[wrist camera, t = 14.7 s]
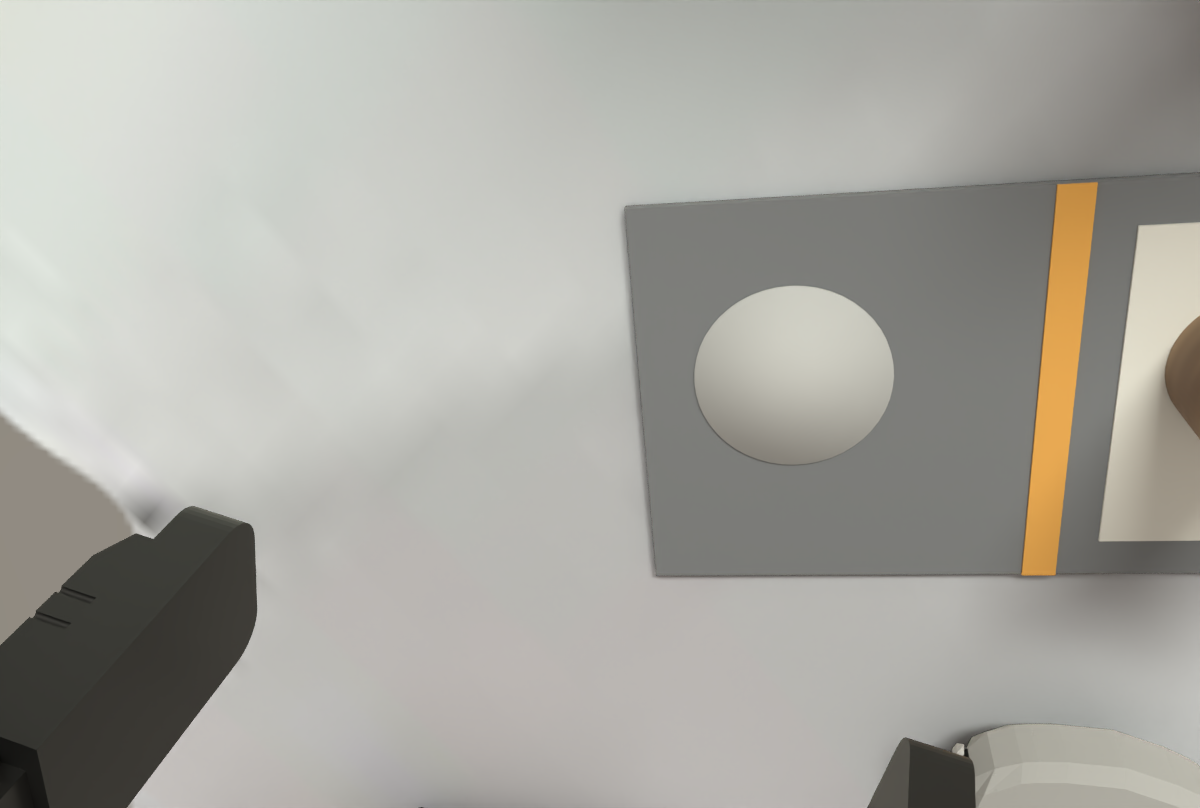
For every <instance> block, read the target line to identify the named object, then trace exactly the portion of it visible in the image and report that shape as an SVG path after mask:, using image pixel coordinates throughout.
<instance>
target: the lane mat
mask: <svg viewBox="0 0 1200 808" xmlns="http://www.w3.org/2000/svg"><path fill="white" fill-rule="evenodd" d="M625 220H626V232H627V243H628V255H629V266H630V278H631V290H632V301H633V313H634V324H635V336H636V347H637V359H638V371H639V382H640V394H641V405H642V417H643V428H644V440H645V451H646V463H647V475H648V486H649V498H650V509H651V521H652V532H653V544H654V556H655V567H656V576H682V575H897V574H1022V575H1055V574H1111V573H1200V439H1199V438H1198V436H1197V435H1196V434H1195V432H1194V431H1193V430H1192V428H1191V427H1190V426H1189V425H1188V423H1187V422H1186V421H1185V419H1184V418H1183V417H1182V415H1181V414H1180V413H1179V411H1178V410H1177V409H1176V407H1175V406H1174V404H1173V403H1172V401H1171V399H1170V397H1169V395H1168V392H1167V388H1166V384H1165V368H1166V363H1167V359H1168V356H1169V353H1170V351H1171V348H1172V347H1173V345H1174V343H1175V341H1176V340H1177V338H1178V337H1179V335H1180V334H1181V333H1182V332H1183V330H1184V329H1185V328H1186V327H1187V326H1188V325H1189V324H1190V323H1191V322H1192V321H1194V320H1195V319H1196V318H1197V317H1198V316H1200V173H1184V174H1167V175H1150V176H1133V177H1115V178H1098V179H1081V180H1064V181H1047V182H1029V183H1012V184H995V185H978V186H960V187H943V188H926V189H909V190H892V191H874V192H857V193H840V194H823V195H805V196H788V197H771V198H754V199H737V200H719V201H702V202H685V203H668V204H651V205H633V206H626V207H625Z"/></svg>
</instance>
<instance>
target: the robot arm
mask: <svg viewBox="0 0 1200 808" xmlns="http://www.w3.org/2000/svg"><path fill="white" fill-rule="evenodd" d="M256 616H257V593H256V564H255V537H254V531H253V528H252V526H251V525H250V524H248V523H245V522H242V521H239V520H236V519H232V518H229V517H226V516H223V515H220V514H217V513H214V512H211V511H208V510H204V509H201V508H198V507H195V506H191V507H188V508H185V509H184V510H182V511H181V512H180V513H179V514H178V515H177V516H176V517H175V518H174V519H173V520H172V521H171V522H170V523H169V524H168V525H167V526H166V527H165V528H164V529H163V530H162V531H161V532H160V533H159V534H158V535H157V536H156V537H155V538H154V539H151V538H148V537H145V536H142V535H139V534H134V535H132V536H130V537H128V538H126V539H124V540H122V541H120V542H118V543H116V544H114V545H112V546H110V547H108V548H107V549H105V550H103V551H101V552H99V553H97V554H95V555H93V556H92V557H91V558H90V559H89V560H88V561H87V562H86V563H85V564H84V565H83V566H82V567H81V568H80V569H79V570H77V572H76V573H74V575H72V576H71V577H70V578H69V579H68V580H67V581H66V582H65V583H64V584H63V585H62V588H61V590H60V592H59V593H57V592H55V593H54V594H53V595H52V596H51V597H50V598H49V599H48V600H47V601H46V602H45V603H44V604H42V606H41V607H39V608H38V609H37V610H36V614H35V616H34V617H33V618H30V617H29V618H28V619H27V620H26V621H25V622H24V623H23V624H22V625H21V626H20V627H19V628H18V629H17V630H16V631H15V632H14V633H13V634H12V635H11V636H10V637H9V638H8V639H6V640H5V642H3V643H2V644H1V645H0V808H127V807H128V805H129V804H130V803H131V801H132V800H133V799H134V797H135V796H136V795H137V793H138V792H139V791H140V789H141V788H142V787H143V785H144V784H145V783H146V782H147V780H148V779H149V778H150V776H151V775H152V774H153V772H154V771H155V770H156V768H157V767H158V766H159V764H160V763H161V762H162V760H163V759H164V758H165V757H166V755H167V754H168V753H169V751H170V750H171V749H172V747H173V746H174V745H175V743H176V742H177V741H178V739H179V738H180V737H181V735H182V734H183V733H184V731H185V730H186V729H187V728H188V726H189V725H190V724H191V722H192V721H193V720H194V718H195V717H196V716H197V714H198V713H199V712H200V710H201V709H202V708H203V706H204V705H205V704H206V703H207V701H208V700H209V699H210V697H211V696H212V695H213V693H214V692H215V691H216V689H217V688H218V687H219V685H220V684H221V683H222V681H223V680H224V679H225V678H226V676H227V675H228V674H229V672H230V671H231V670H232V668H233V667H234V666H235V664H236V663H237V662H238V660H239V659H240V657H241V656H242V654H243V652H244V651H245V649H246V647H247V645H248V643H249V640H250V638H251V635H252V632H253V629H254V626H255V621H256ZM867 808H976V798H975V769H974V764H973V761H972V760H971V759H970V758H968V757H965V756H962V755H959V754H956V753H952V752H949V751H946V750H943V749H940V748H937V747H934V746H931V745H928V744H924V743H921V742H918V741H915V740H912V739H909V738H903V739H902V740H901V742H900V743H899V745H898V747H897V749H896V751H895V753H894V755H893V757H892V759H891V761H890V763H889V765H888V767H887V769H886V771H885V773H884V775H883V777H882V779H881V781H880V783H879V785H878V787H877V789H876V791H875V793H874V795H873V797H872V799H871V801H870V803H869V805H868V807H867Z"/></svg>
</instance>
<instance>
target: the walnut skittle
mask: <svg viewBox="0 0 1200 808" xmlns="http://www.w3.org/2000/svg"><path fill="white" fill-rule="evenodd" d="M1165 384H1166V388H1167V392H1168V395H1169V397H1170V399H1171V401H1172V403H1173V404H1174V406H1175V407H1176V409H1177V410H1178V411H1179V413H1180V414H1181V415H1182V417H1183V418H1184V419H1185V421H1186V422H1187V423H1188V425H1189V426H1190V427H1191V428H1192V430H1193V431H1194V432H1195V434H1196V435H1197V436H1198V438H1199V439H1200V316H1198V317H1197V318H1196V319H1195V320H1194V321H1192V322H1191V323H1190V324H1189V325H1188V326H1187V327H1186V328H1185V329H1184V330H1183V332H1182V333H1181V334H1180V335H1179V337H1178V338H1177V340H1176V341H1175V343H1174V345H1173V347H1172V348H1171V351H1170V353H1169V356H1168V359H1167V363H1166V368H1165Z"/></svg>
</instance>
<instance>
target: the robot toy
mask: <svg viewBox="0 0 1200 808" xmlns="http://www.w3.org/2000/svg"><path fill="white" fill-rule="evenodd" d="M952 753H956V754H959V755H962V756H965V757H968V758H970V759H971V760H972V761H973V764H974V769H975V798H976V808H1200V766H1199V765H1198V764H1196V763H1195V762H1193V761H1191V760H1190V759H1188V758H1186V757H1185V756H1182V755H1180V754H1178V753H1176V752H1174V751H1171V750H1169V749H1167V748H1165V747H1163V746H1160V745H1157V744H1154V743H1151V742H1148V741H1145V740H1142V739H1139V738H1136V737H1133V736H1130V735H1127V734H1124V733H1121V732H1118V731H1115V730H1110V729H1101V728H1090V727H1080V726H1070V725H1059V724H1012V725H1005V726H1002V727H999V728H996V729H994V730H990V731H986V732H984V733H981V734H978V735H976V736H973V737H972V738H971V740H970V742H969V744H968V746H967V748H966V749H964V744H958V743H956V745H955V746H954V747H953V749H952Z"/></svg>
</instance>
